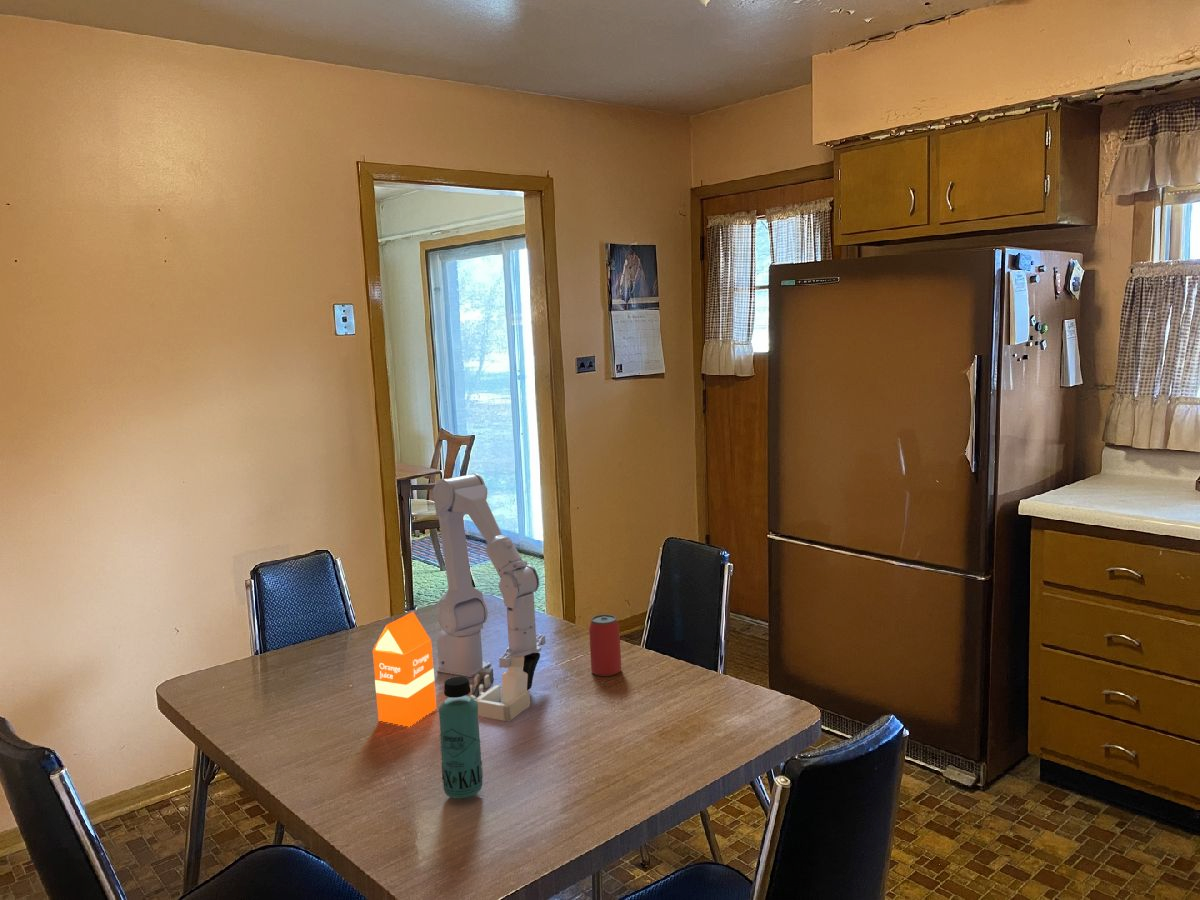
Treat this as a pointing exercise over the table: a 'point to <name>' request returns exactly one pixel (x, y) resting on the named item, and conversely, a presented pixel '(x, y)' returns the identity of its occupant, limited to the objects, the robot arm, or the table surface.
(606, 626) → the beer can
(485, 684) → the clips
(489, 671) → the cable route
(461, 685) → the beverage bottle
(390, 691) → the orange juice
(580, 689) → the table surface
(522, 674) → the pepper shaker
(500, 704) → the end holder
